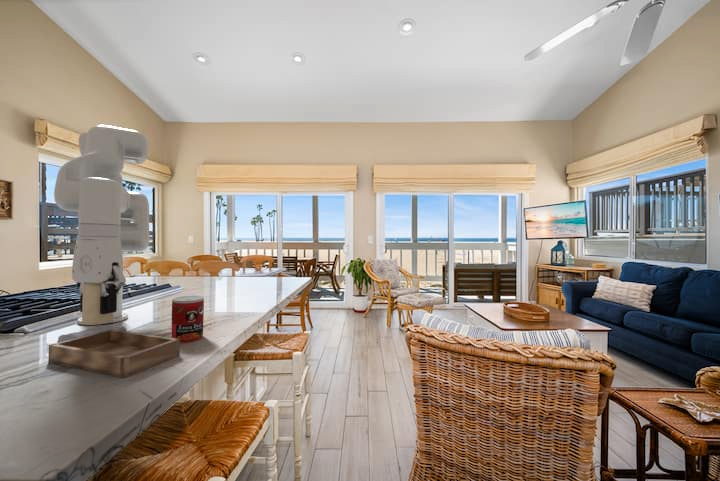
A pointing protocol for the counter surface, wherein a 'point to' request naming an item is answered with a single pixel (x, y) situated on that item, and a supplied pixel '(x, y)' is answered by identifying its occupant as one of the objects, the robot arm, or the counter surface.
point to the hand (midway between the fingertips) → (98, 311)
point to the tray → (114, 352)
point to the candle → (93, 305)
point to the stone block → (89, 332)
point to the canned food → (187, 318)
